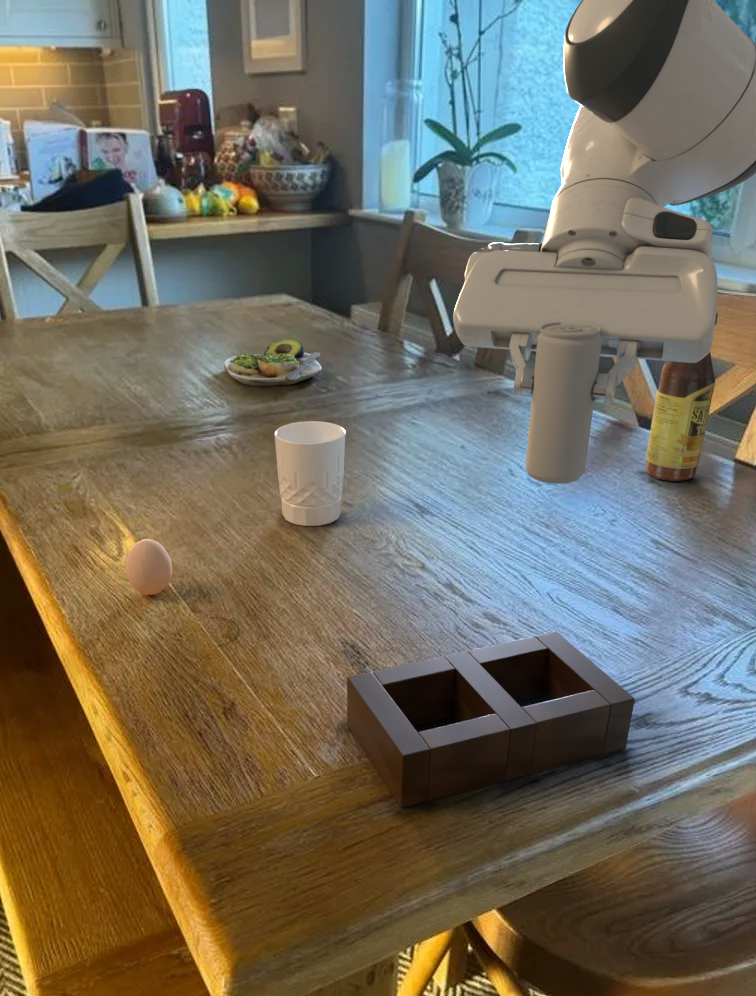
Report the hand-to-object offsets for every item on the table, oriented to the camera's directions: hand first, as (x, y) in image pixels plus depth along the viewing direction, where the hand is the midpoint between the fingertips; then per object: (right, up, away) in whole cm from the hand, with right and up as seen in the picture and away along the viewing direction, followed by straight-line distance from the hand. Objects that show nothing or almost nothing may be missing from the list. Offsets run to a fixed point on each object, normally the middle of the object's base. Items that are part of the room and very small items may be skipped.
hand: (562, 396), depth 71 cm
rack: (-7, -26, -4) cm, 28 cm away
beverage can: (0, -6, +4) cm, 7 cm away
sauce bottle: (+25, 0, +42) cm, 49 cm away
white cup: (-20, -6, +34) cm, 39 cm away
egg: (-35, -16, +18) cm, 43 cm away
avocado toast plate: (-26, +24, +89) cm, 96 cm away
